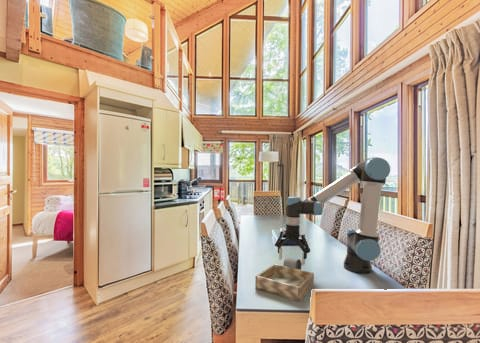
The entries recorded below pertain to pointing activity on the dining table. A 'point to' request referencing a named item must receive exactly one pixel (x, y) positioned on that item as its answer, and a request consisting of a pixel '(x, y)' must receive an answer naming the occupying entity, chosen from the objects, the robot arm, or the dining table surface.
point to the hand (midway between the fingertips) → (291, 261)
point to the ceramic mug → (293, 263)
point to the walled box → (285, 282)
